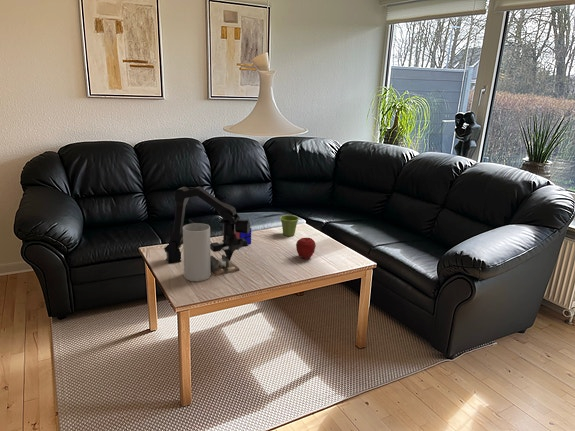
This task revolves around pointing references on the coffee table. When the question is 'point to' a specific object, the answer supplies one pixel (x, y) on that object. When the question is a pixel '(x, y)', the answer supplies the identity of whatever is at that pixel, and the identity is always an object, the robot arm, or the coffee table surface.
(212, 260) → the gauge stand
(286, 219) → the plant pot
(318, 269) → the coffee table surface
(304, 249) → the apple
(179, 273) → the coffee table surface
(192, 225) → the cylinder vase
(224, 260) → the gauge carriage
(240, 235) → the puzzle cube
